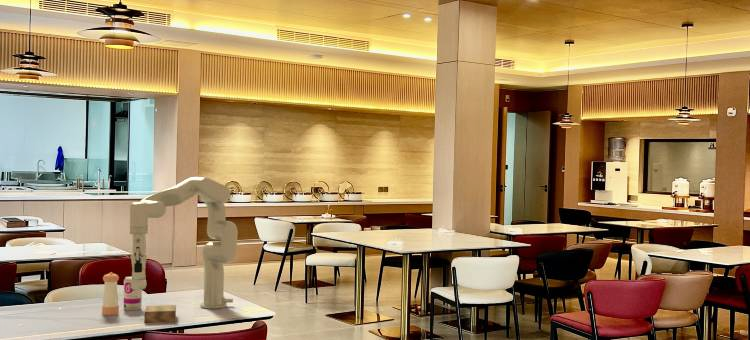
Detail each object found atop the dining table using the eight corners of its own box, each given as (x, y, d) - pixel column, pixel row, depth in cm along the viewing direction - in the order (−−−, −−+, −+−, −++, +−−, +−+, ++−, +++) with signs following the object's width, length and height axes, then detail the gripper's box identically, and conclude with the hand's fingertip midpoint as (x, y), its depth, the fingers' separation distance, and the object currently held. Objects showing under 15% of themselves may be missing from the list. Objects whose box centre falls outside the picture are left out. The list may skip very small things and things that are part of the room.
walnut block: (175, 315, 345) (175, 305, 345) (175, 322, 332) (175, 310, 332) (146, 316, 342) (146, 305, 342) (144, 323, 329) (144, 311, 329)
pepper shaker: (122, 312, 349) (122, 271, 349) (111, 315, 342) (112, 274, 342) (109, 311, 352) (109, 270, 351) (98, 314, 345) (99, 272, 344)
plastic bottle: (132, 288, 333) (132, 243, 333) (148, 288, 334) (148, 243, 333) (129, 291, 327) (128, 245, 326) (144, 291, 327) (144, 246, 327)
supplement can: (136, 310, 354) (136, 279, 354) (120, 309, 356) (120, 278, 355) (144, 307, 362) (145, 276, 362) (129, 306, 364) (129, 275, 363)
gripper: (146, 232, 322) (146, 274, 323) (149, 228, 339) (148, 267, 339) (128, 232, 320) (128, 274, 321) (131, 228, 337) (131, 268, 338)
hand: (138, 270), depth 330 cm, fingers closed on plastic bottle, 5 cm apart
